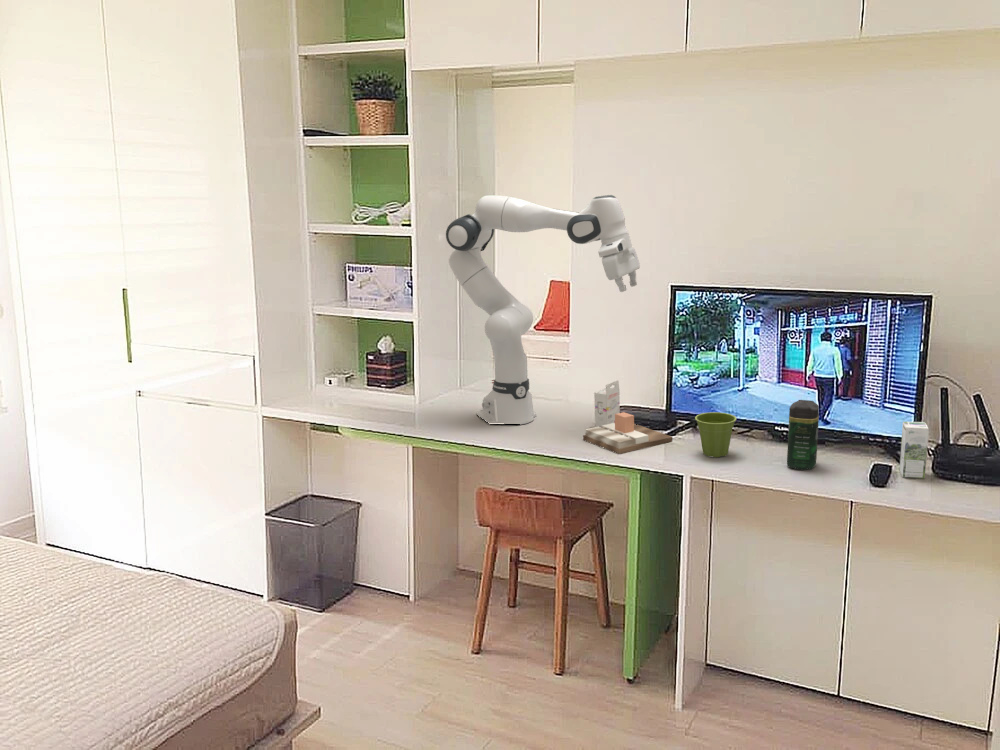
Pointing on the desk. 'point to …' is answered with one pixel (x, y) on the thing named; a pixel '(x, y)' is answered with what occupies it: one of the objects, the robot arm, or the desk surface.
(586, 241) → the robot arm
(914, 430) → the syrup box
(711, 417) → the plant pot
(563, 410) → the desk surface
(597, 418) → the ink cartridge box
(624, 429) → the white bar with block
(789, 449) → the coffee jar
